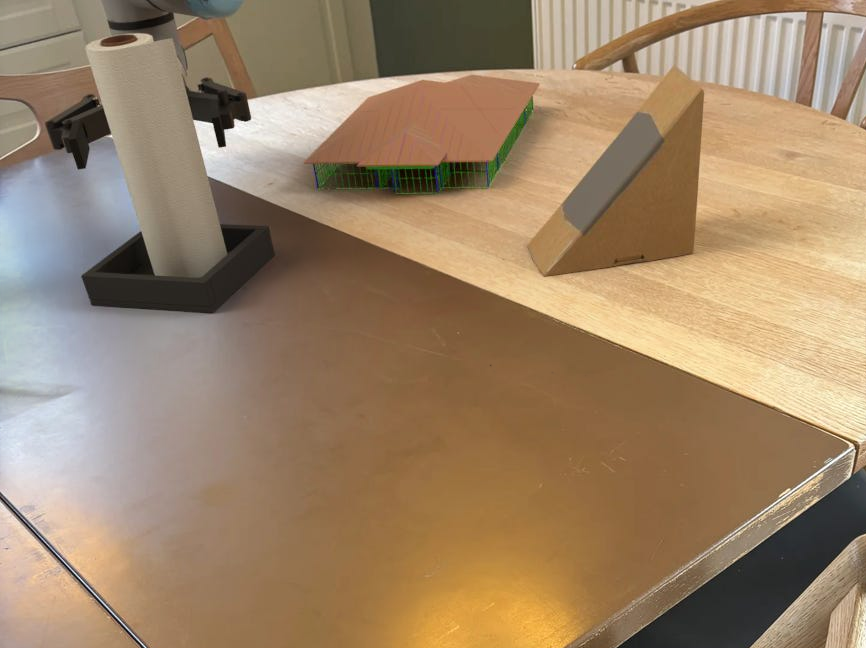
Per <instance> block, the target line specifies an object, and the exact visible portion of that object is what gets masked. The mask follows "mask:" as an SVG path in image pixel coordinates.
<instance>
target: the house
mask: <svg viewBox="0 0 866 648" xmlns="http://www.w3.org/2000/svg"><path fill="white" fill-rule="evenodd" d="M539 86H540V83H539V82H532V81H525V80H518V79H510V78H503V77H502V78H501V77H495V76H486V75H477V74H469V75H466V76H462V77H460V78H455V79H452V80H450V81H446V82H445V81H435V80H427V79H421V80H418V81H415V82H412V83H408V84H405V85H402V86H399V87H396V88H393V89H390V90H387V91H383V92H381V93H377V94H374V95H371V96H368V97H367V98H366V99H365V100H364V101H363V102H362V103H361V104H360V105H359V106H358V107H357V108H356V109H355V110H353V112H352V113H351V114H350V115H349V116H348V117H346V119H345V120H344V121H343V122H342V123H341V124H340V125H339V126H338V127H337V128H335V130H334V131H333V132H332V133H331V134H329V136H328V137H327V138H326V139H325V140H324V141H323V142H322V143H321V144H320V145H319V146H318V147H317V148H316V149H315V150H313V152H312V153H311V154H310V155H309V156H308V157H307V158H306V159H305V160H303V165H312V167H313V172H314V177H315V183H316V189H318V190H325V189H324V188H326V184H325V182H326V181H327V180H328V179H329V186H330V187H332V183H331V176H332V175H334V178H335V184H336V187H335V188H336V189H339V190H342V189H345V190H348V189H357V190H358V189H360V190H361V189H362V190H363V189H365V187H364V183H363V177H362V175H366V177H367V185H368V189H371V187H370V181H369V173H368V170H370V176H371V182H372V189H375V185H374V179H373V175H375V180H376V189H383V188H384V186H385V185H386V189H389V186H388V182H389V180H390V179H391V183H392V191H393V194H394V195H396V194H397V195H399V194H400V195H403V194H405V195H406V194H407V195H409V194H410V195H413V194H414V195H415V194H418V195H419V194H421V195H423V194H426V195H428V194H429V195H430V194H440V193H441V191H442V189H489V188H490V187H491V185H492V183H493V181H494V180H495V178H496V176H497V175H496V174H498V173H499V171H500V170H499V169H501V168H499V167H500V166H501V167H502V166H503V164H504V163H503V161H504V159H505V158H506V156H507V153H508V152H509V151H510V149H511V147H512V146H513V145H514V146H515V144H514V142H515V140H516V138H517V137H518V135H519V134H520V132H521V130H522V128H523V126H524V125H525V124H526V121H527V119H528V117H529V115H531V114H530V113H532V110H533V111H534V95H535V93H536V91H537V89H538V88H539ZM526 109H527V111H526ZM526 125H527V124H526ZM526 125H525V126H526ZM521 133H522V132H521ZM520 135H521V134H520ZM515 143H516V142H515ZM511 150H512V149H511ZM510 152H511V151H510ZM507 157H508V156H507ZM506 159H507V158H506ZM451 163H452V164H451ZM458 163H459V168H460V169H459V170H462V163H465V165H466V170H469V164H468V163H473V164H472V170H474V171H455V170H456V169H455V166H457V167H458ZM475 163H478V165H479V167H480V170H481V171H475V170H476V166H475ZM481 163H484V164H485V170H486V171H485V177H486V186H484V182H483V178H481V183H482V184H481V186H470V184H468V186H464V184H463V183H464V182H463V181H461V186H457V180H456V177H454V183H455V186H452V187H451V186H450V184H448V187H447V186H446V187H445V185H446V184H447V183H450V178H451V176H452V175H451V174H454V176H456V174H459V173H460V176H461V179H463V174H467V180H468V182H470V174H471V173H474V174H481V176H483V171H482V170H483V168H482V165H481ZM502 163H503V164H502ZM341 165H345V168H346V172H342V166H341ZM348 165H352V170H353V172H349V169H348ZM354 165H356V166H357V167H359V172H355V166H354ZM446 166H447V167H446ZM450 166H453V167H452V172H451V167H450ZM361 167H365V170H366V171H365V172H362V170H361ZM337 169H340V173H337V172H336V170H337ZM372 170H374V172H372ZM400 170H404V172H405V177H401V174H400V173H398V172H400ZM407 170H411V176H412V177H411V178H412V184H413V185H412V186H413V190H414V191H413V192H409V185H408V177H407ZM413 170H418V177H414V172H413ZM420 170H424V171H425V172H424V173H425V174H427V170H429V173H430V175H432V170H433V176H434V177H433V176H430V177H427V176H428V175H425V181H426V182H425V183H428V179H429V180H430V182H431V184H433V179H435V183H436V184H435V185H436V192H434V187H433V185H431V192H429V186H428V184H426V190H427V192H423V191H422V183H421V181H419V186H420V187H419V188H420V192H416V189H415V181H414V180H416V179H417V180H418V179H419V180H421V176H420V175H421V173H420ZM453 170H454V171H453ZM489 170H490V171H489ZM491 170H492V171H491ZM494 170H495V171H494ZM497 170H498V171H497ZM437 173H438V174H437ZM343 174H344V175H345V174H347V179H348V180H347V181H348V185H349V187H345V184H344V179H343ZM355 174H357V175H358V174H360V181H361V187H358V186H357V179H356V175H355ZM337 175H341V181H342V182H341V183H342V187H339V186H338V182H337V181H338V180H337ZM350 175H354V176H353V177H354V184H355V187H351V182H350V177H349V176H350ZM328 177H329V178H328ZM476 177H477V176H476V175H474V182H475V183H474V185H477V178H476ZM327 178H328V179H327ZM326 179H327V180H326ZM403 179H404V180H406V181H405V183H406V188H407V189H406V190H407V192H403V189H402V183H401V180H403ZM493 179H494V180H493ZM322 186H323V187H322ZM489 186H490V187H489ZM319 187H320V188H321V189H320V188H319ZM330 187H327V188H328V189H327V190H330V189H329V188H330ZM340 188H341V189H340ZM336 189H335V190H336ZM399 189H400V192H398V190H399Z"/></svg>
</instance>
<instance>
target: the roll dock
mask: <svg viewBox="0 0 866 648" xmlns="http://www.w3.org/2000/svg"><path fill="white" fill-rule="evenodd" d="M220 227H221V231H222V235H223V239H224V243H225V247H226V251H227V255H226V256H225V257H224V258H223V259H222V260H221V261H219V262H218V263H217V264H216V265H215V266H214V267H213V268H211V269H210V270H209V271H208V272H207V273H206V274H205V275H203V276H202V277H200V278H192V277H174V276H155V274H154V271H153V268H152V264H151V261H150V258H149V255H148V251H147V248H146V245H145V242H144V238H143V235H142V232H141V230H140V231H139V232H137V233H136V234H135V235H133V236H132V237H131V238H129V239H128V240H127V241H125V242H124V243H123V244H122V245H119V247H117V248H116V249H115V250H113V251H112V252H111V253H109V254H108V255H107V256H106V257H104V258H103V259H101V260H100V261H98V262H97V263H96V264H94V265H93V266H92V267H90V268H89V269H87V271H85V272H84V273H82V274H81V276H80V277H81V280H82V282H83V285H84V288H85V291H86V294H87V297H88V300H89V303H90V305H91V306H100V307H115V308H128V309H129V308H130V309H145V310H161V311H177V312H191V313H206V314H214V313H216V311H217V310H218V309H219V308H221V306H222V305H224V303H225V302H227V301H228V300H229V299H230V298H231V297H232V296H233V295H234V294H235V293H236V292H237V291H238V290H239V289H241V287H242V286H244V285H245V284H246V283H247V282H248V281H249V280H250V279H251V278H252V277H253V276H254V275H255V274H257V272H258V271H260V270H261V268H263V267H264V266H265V265H266V264H267V263H268V262H269V261H270V260H271V259H272V258H274V257H275V254H276V253H275V250H274V245H273V240H272V235H271V231H270V227H269V226H268V225H252V224H251V225H250V224H249V225H248V224H247V225H246V224H224V223H220Z"/></svg>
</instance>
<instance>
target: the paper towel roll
mask: <svg viewBox="0 0 866 648" xmlns="http://www.w3.org/2000/svg"><path fill="white" fill-rule="evenodd" d="M84 49H85V52H86V56H87V59H88V63H89V66H90V69H91V72H92V75H93V76H92V77H94V82H95V85H96V89H97V92H98V96H99V99H100V102H102V105H103V108H104V111H105V115H106V118H107V121H108V124H109V128H110V131H111V134H110V135H111V137H112V140H113V144H114V147H115V150H116V154H117V157H118V160H119V164H120V166H121V170H122V173H123V177H124V179H125V183H126V187H127V189H128V192H129V196H130V199H131V202H132V206H133V209H134V212H135V216H136V218H137V219H136V220H137V222H138V226H139V229H140V231H141V232H142V235H143V238H144V242H145V245H146V248H147V251H148V255H149V258H150V261H151V264H152V268H153V271H154V274H155V276H174V277H192V278H200V277H202V276H203V275H205V274H206V273H207V272H208V271H209V270H210V269H211V268H213V267H214V266H215V265H216V264H217V263H218V262H219V261H221V260H222V259H223V258H224V257H225V256H226V255H227V251H226V247H225V243H224V239H223V235H222V231H221V227H220V224H221V223H220V220H219V216H218V212H217V207H216V205H215V201H214V196H213V191H212V189H211V186H210V185H211V184H210V181H209V180H210V179H209V176H208V173H207V172H208V171H207V169H206V165H205V161H204V157H203V153H202V149H201V145H200V141H199V137H198V133H197V129H196V125H195V120H193V117H192V113H191V109H190V105H189V101H188V97H187V93H186V89H185V85H184V82H183V78H182V74H181V70H180V66H179V62H178V58H177V54H176V50H175V46H174V42H173V38H172V39H165V40H160V41H155V42H154V40H153V37H152V36H151V35H149V34H142V33H133V34H122V35H115V36H111V35H110V36H106V37H102V38H99V39H95V40H93V41H91V42H89V43H88V44H86V45H85V48H84Z"/></svg>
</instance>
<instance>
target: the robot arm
mask: <svg viewBox="0 0 866 648" xmlns="http://www.w3.org/2000/svg"><path fill="white" fill-rule="evenodd" d="M100 1H101V3H102V7H103V10H104V13H105V17H106V22H107V24H108V29H109V33H110V36H115V35H122V34H133V33H142V34H149V35H151V36H152V37H153V40H154V42H155V41H160V40H165V39H172V38H173V42H174V46H175V50H176V54H177V58H178V62H179V66H180V70H181V74H182V78H183V82H184V85H185V89H186V93H187V97H188V101H189V105H190V109H191V113H192V117H193V121H197V122H202V123H208V124H212V126H213V130H214V134H215V139H216V143H217V147H218V148H219V149H221V148H226V147H227V141H226V133H225V130H232V129H235V127H236V125H235V120H236V121H239V122H244V123H246V122H250V121H251V120H252V114H251V111H250V110H251V109H250V105H249V101H248V96H247V93H246V92H244V91H243V90H238V89H236V88H234V87H233V88H232V87H230V86H226V85H223V84H220V83H218V82H214V80H213V78H212V77H208V76H207V77H203V78H201V79H200V81H199V82H197V84H196V85H197V87H195V88H189V86H188V82H187V81H188V80H187V76H188V68H189V66H188V65H189V64H188V59H187V56H186V55H187V54H186V51H185V48H184V45H183V44H182V43H181V38H180V34H179V32H178V27H177V23H176V19H175V14H177V15H184V16H189V17H196V18H199V19H202V20H204V21H205V20H206V21H207V20H208V21H209V20H212V19H227V18H229V17H232V16H234V15H235V14H237V13H238V12H239V10H240V9H241V8H242V7H243V5H244V3H245V1H246V0H100ZM44 125H45V129H46V131H47V134H48V137H49V140H50V143H51V146H52V149H53V150H55V151H56V150H57V151H60V150H63V149H64V150H65V152H66V153H67V154H72V156H73V159H74V162H75V165H76V168H77V170H84V169H87V164H88V160H89V155H90V150H91V147H90V144H91V143H93V142H96V141H98V140H100V139H102V138H105V137H106V136H108V135H112V134H111V131H110V128H109V124H108V121H107V118H106V115H105V111H104V108H103V105H102V102H101V101H100V100H99V97H96V95H95V94H93V93H92V94H91V93H87V94H86V95H84V96H83V97H82V98H81V100H80V101H79V102H76V103H75V104H74V105H71V106H70V107H69V108H67V109H65V110H63V111H62V112H60V113H58V114H57V115H55V116H53V117H52V118H50V119H48V120H46V121H45V122H44Z"/></svg>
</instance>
